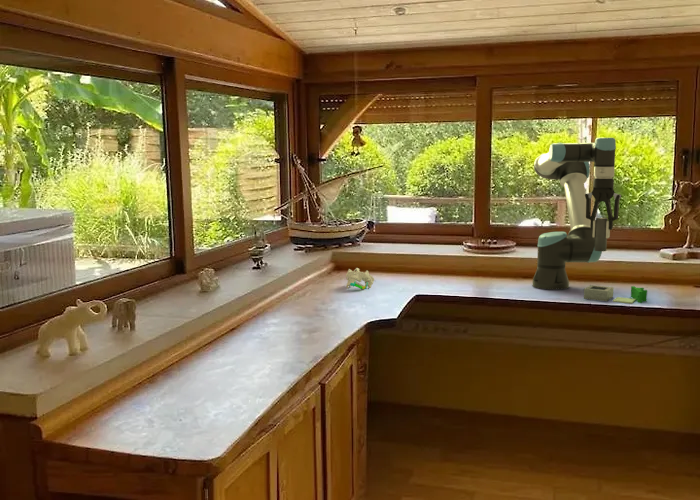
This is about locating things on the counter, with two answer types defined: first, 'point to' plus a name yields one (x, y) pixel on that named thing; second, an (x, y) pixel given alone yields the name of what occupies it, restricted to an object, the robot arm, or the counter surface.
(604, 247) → the grey rectangular bar
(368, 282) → the jaw support
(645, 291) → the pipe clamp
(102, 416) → the counter surface
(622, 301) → the pad
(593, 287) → the housing
